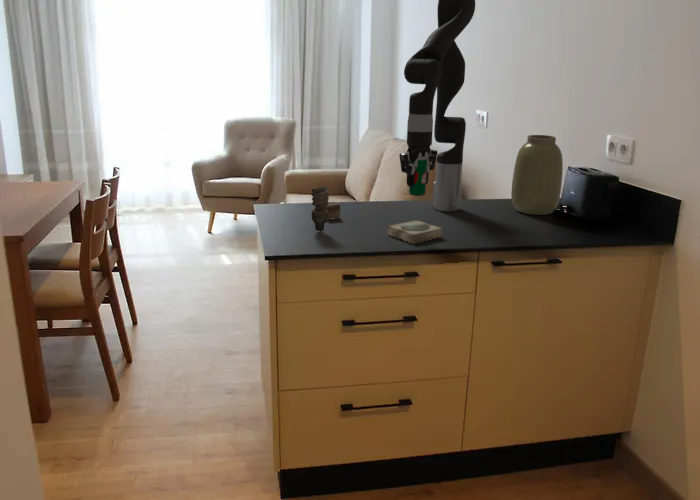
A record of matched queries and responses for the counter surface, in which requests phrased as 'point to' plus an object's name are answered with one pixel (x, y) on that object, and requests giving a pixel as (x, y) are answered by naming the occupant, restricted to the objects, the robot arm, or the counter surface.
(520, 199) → the vase
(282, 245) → the counter surface
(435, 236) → the pedestal
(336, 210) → the walnut cube
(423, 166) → the soda can
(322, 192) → the light bulb
